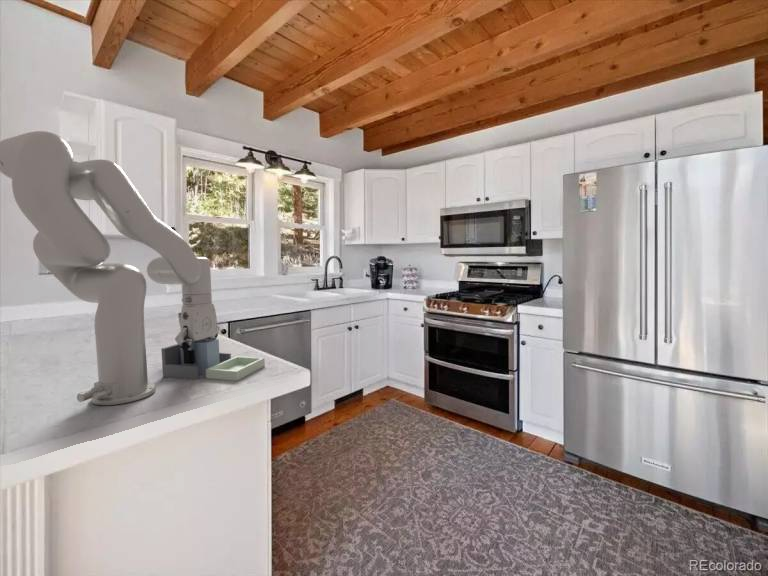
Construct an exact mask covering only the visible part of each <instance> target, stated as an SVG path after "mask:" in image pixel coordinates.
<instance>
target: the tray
mask: <svg viewBox="0 0 768 576" xmlns="http://www.w3.org/2000/svg"><path fill="white" fill-rule="evenodd" d="M265 362H266V361H265V357H255V356H239V355H238V356H237V355H236V356H234V357H231V359H229V360H227V361H224V362H222V363H220V364H217V365H215V366H212V367H210V368H208V369H206V374H205V378H206V379H211V380H212V379H213V380H226V381H233V382H234V381H237V382H238V381H239V380H241V379H243V378H245V377H246V376H249V375H251V374H252V373H255V372H256V371H258V370H260V369H262V368H264V367H266V366H265V365H266V363H265Z"/></svg>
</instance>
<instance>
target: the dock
mask: <svg viewBox="0 0 768 576" xmlns="http://www.w3.org/2000/svg"><path fill="white" fill-rule="evenodd" d="M219 358H220V363H222V362H224V361H227V360H229V359H231V358H232V354H231V353H230V352H219ZM161 364H162V365H161V366H162V367H161V368H162V377H163V378H171V379H187V380H199V379H200V376H199V375H200V374H199V369H198V366H190V365H181V354H180V346H179V345H178V343H176V344H173V345H169V346H166V347H162V348H161Z"/></svg>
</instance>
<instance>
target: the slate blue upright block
mask: <svg viewBox="0 0 768 576" xmlns="http://www.w3.org/2000/svg"><path fill="white" fill-rule="evenodd" d="M189 344H190V342H188V345H189ZM192 350H194V351H195V364H185V363H184V354H183V350H181V347H180V354H181V365H190V366H198V369H199V375H201V374H202V375H206V369H208V368H210V367H212V366H215V365H217V364H220V358H219V353H220V340H219V339H218V338H216V339H215V338H210V339H203V340H200V341H195V343H194V346H193V349H192Z"/></svg>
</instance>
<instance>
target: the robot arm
mask: <svg viewBox="0 0 768 576" xmlns="http://www.w3.org/2000/svg"><path fill="white" fill-rule="evenodd" d="M124 171H125V170H123V169H122V167H120V166H119V165H118V164H117V163H116V162H114V161H111V160H108V159H92V160H91V159H89V160H86V161H80V162H79V161H74V154H73V152H72V149H71V147H70V145H69V144H68V142H67V141H66V140H65V139H63V137H61V136H59V135H58V134H55V133H53V132H49V131H45V130H44V131H43V130H39V131H30V132H26V133H25V132H24V133H22V134H18V135H16V136H11V137H9V138H4V139H3V140H0V173H2V175H5V176H6V177H7V178H10V179H11V189H12V194H13V197H14V198H13V199H14V201H15V202H16V204H17V206H18V208H19V210H20V211H21V213H22V214H23V216H24V217H26V219H27V220H28V221H29V222H30V223H31V224H32V225H33V227H34V229H36V230H37V231H38V232H37V233H36V234H35V236H34V238H33V240H32V241H33V242H32V248H33V251H34V254H35V255H36V258H37V259H38V261H39V262H40V263H41V264H42V265H43V267H44V268H46V270H47V271H49V272H50V273H51V274H52V275H53V276H54V277H55V278H56V279H57V280H58V282H60V283H61V284H62V285H63V287H65V288H66V289H67V290H68V291H69V292H71V294H73V295H74V296H75V297H76V298H78V299H79V300H81V301H84V302H88V303H94V304H97V308H96V311H95V316H94V325H93V326H94V337H95V350H96V362H97V363H96V365H97V377H98V381H96V382H93V387H92V388H91V389H90V390H85V391H83V392H79V393H78V394H77V395H76V399H77V401H78V402H79V403H82V402H85V401H87V400H88V401H89V400H91V403H92V404H94V405H99V406H112V405H113V406H114V405H116V406H117V405H122V404H127V403H128V404H129V403H131V402H135V401H139V400H141V399H145V398H147V397H149V396H151V395H153V394H154V393H155V392H156V391H157V390H156V389H157V387H156V384H154V383H153V382H149V378H148V376H149V375H148V363H147V362H148V360H147V349H146V348H147V347H146V345H147V344H146V334H145V333H146V330H145V302H146V295H147V281H146V280H147V279H146V278H145V276H144V274H143V272H141V270H139V269H138V268H136V267H135V266H133V265H130V264H126V263H121V262H120V263H117V262H115V263H114V262H111V263H105V261H107V260H108V258H109V257H110V255H111V246H110V245H111V244H110V243H109V241H108V239H107V238H106V236H105V235H104V234H103V233H102V232H101V230H99V228H98V227H97V226H96V224H94V222H93V221H92V220H91V219H90V218H89V216H88V215H87V214H86V213H85V212H84V210H83V209H82V208H81V207H80V205H79V204H78V203H77V201H76V199H77V200H80V201H94V202H95V204H97V206H99V208H100V209H101V211H102V212H103V213H104V214H105V216H106V217H107V219H108V220H109V221H110V222H111V223H112V224H113V226H114V228H116V230H117V231H118V232H119V233H120V234H121V235H123V236H124V237H126V238H129V239H130V240H133V241H135V242H138V243H140V244H143V245H145V246H147V247H148V248H150V249H152V250H154V251H155V252H156V253H158V254H159V255H160V256H159V257H156V258H153V259H152V260H151V261H150V262H149V263H148V265H147V268H146V272H147V276H148V277H149V279H150V280H152V281H153V282H155V283H157V284H161V285H181V294H182V297H181V302H182V306H181V311H180V313H181V328H180V332H179V333H178V334H177V335H176V337H174V340H175V342H176V344H178V345H179V346H180V347H181V350H183V354H184V363H185V364H195V351H194V350H192V349H193V346H194V343H195V341H200V340H203V339H210V338H215V339H218V335H219V332H220V329H221V328H220V326H219V325H218V320H217V311H216V308H215V304H214V303H213V296H212V277H211V274H212V273H211V262H210V261H211V260H210V259H209V258H208V257H204V256H197V254H195V252H194V250H193V248H191V246H190V245H189V244H188V242H187V241H186V240H185V239H184V238H183V237H182V236H181V235H180V234H179V233H177V232H176V231H175V230H174V229H172V228H171V227H170V226H169V225H167V224H166V223H164V222H163V221H161V220H160V219H159V218H157V216H155V214H154V213H153V212H152V211H151V209H150V208H149V206H148V205H147V203H146V202H145V200H144V198H142V196H141V195H140V193H139V191H138V189H136V187H135V186H134V184H133V183H132V182H131V180H130V179H129V177H128V176H127V175H126V173H125V172H124ZM188 342H190V344H189V345H188Z"/></svg>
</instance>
